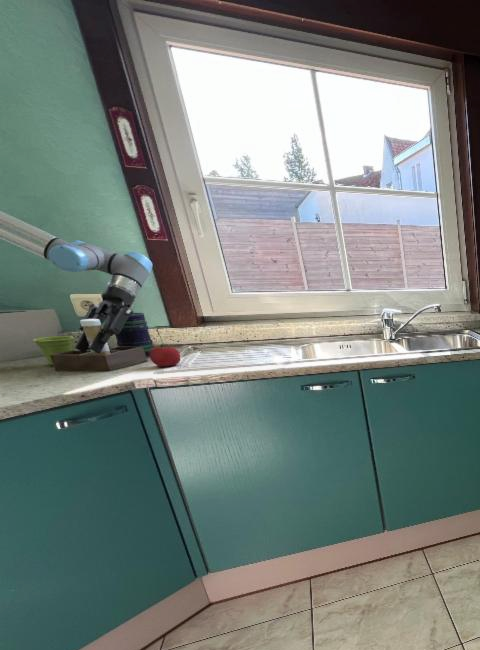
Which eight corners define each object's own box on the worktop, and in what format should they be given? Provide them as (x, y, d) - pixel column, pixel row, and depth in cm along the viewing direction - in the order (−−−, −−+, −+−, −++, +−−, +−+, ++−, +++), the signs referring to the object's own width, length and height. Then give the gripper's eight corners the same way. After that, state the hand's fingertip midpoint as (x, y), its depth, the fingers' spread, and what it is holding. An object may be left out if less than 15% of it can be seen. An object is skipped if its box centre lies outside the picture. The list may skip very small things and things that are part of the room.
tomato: (154, 364, 168) (147, 343, 165) (183, 362, 172) (177, 342, 170) (151, 369, 162) (144, 347, 159) (182, 366, 166) (175, 345, 164)
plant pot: (36, 368, 160) (25, 341, 157) (52, 362, 168) (42, 336, 164) (74, 366, 163) (64, 340, 160) (88, 360, 171) (79, 335, 168)
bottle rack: (55, 370, 157) (49, 355, 155) (97, 360, 172) (92, 346, 170) (110, 371, 159) (104, 355, 157) (147, 361, 173) (142, 346, 171)
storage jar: (163, 354, 184) (151, 313, 179) (135, 359, 175) (121, 316, 170) (143, 352, 186) (130, 312, 181) (114, 357, 177) (99, 314, 172)
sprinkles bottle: (90, 362, 159) (75, 319, 154) (105, 359, 164) (91, 318, 159) (102, 362, 159) (87, 320, 154) (117, 360, 163) (103, 318, 158)
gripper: (154, 301, 168) (123, 358, 159) (107, 299, 169) (74, 356, 160) (134, 285, 161) (101, 344, 152) (85, 284, 162) (49, 342, 153)
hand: (87, 350), depth 156 cm, fingers closed on sprinkles bottle, 4 cm apart
